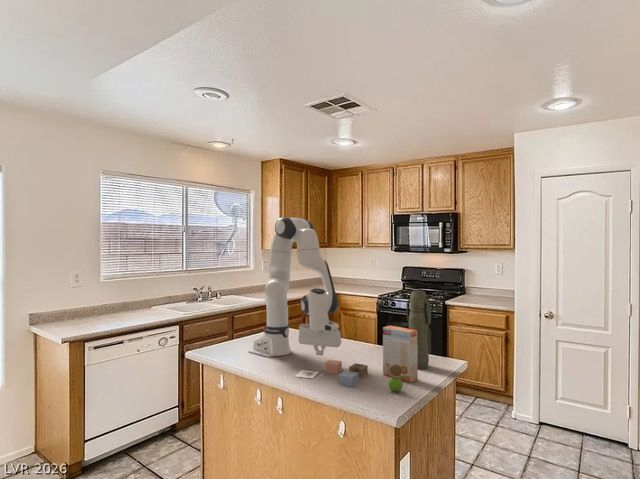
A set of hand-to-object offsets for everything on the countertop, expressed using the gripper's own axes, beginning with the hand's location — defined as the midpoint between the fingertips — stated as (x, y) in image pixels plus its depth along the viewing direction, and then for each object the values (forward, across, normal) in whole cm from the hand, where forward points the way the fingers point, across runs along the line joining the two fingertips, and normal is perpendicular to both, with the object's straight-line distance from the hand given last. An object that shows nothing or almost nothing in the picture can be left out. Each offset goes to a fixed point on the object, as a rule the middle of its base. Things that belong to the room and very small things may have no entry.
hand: (319, 354), depth 177 cm
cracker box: (+7, +36, +3) cm, 37 cm away
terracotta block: (+6, +7, -1) cm, 9 cm away
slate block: (+6, +18, -12) cm, 23 cm away
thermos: (+7, +41, +21) cm, 46 cm away
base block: (+7, +19, -1) cm, 20 cm away
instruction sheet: (+6, -1, -11) cm, 12 cm away
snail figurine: (+7, +38, -13) cm, 40 cm away
